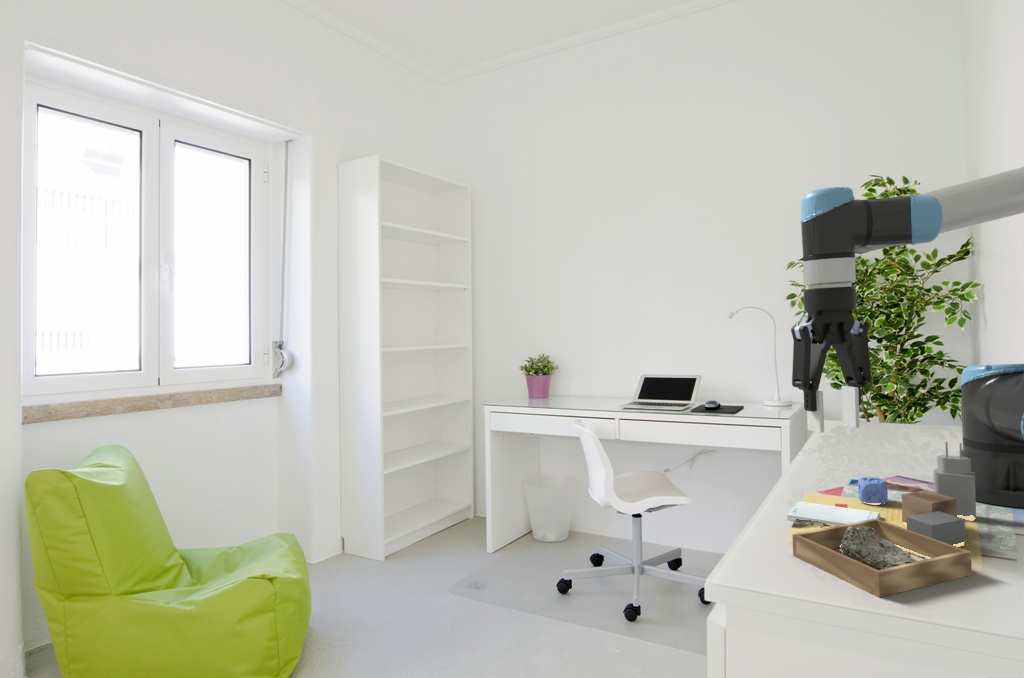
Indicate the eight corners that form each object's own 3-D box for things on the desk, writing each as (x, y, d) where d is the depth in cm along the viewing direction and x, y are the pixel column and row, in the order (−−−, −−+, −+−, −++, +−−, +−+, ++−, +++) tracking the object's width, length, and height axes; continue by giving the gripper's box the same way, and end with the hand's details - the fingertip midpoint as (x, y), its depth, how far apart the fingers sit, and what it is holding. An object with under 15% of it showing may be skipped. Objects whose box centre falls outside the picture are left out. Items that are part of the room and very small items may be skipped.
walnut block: (926, 521, 99) (925, 490, 99) (957, 531, 95) (956, 498, 94) (902, 526, 98) (901, 494, 98) (932, 536, 93) (931, 503, 93)
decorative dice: (858, 498, 112) (857, 476, 112) (883, 499, 111) (883, 477, 110) (861, 505, 108) (860, 482, 108) (888, 506, 107) (887, 483, 107)
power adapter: (935, 511, 103) (933, 439, 103) (976, 516, 100) (974, 442, 100) (934, 516, 101) (932, 443, 100) (976, 521, 98) (974, 446, 97)
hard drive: (786, 513, 103) (873, 525, 95) (798, 500, 109) (880, 510, 102) (787, 523, 103) (873, 536, 95) (798, 509, 109) (880, 520, 102)
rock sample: (919, 564, 75) (872, 502, 81) (864, 595, 78) (823, 533, 84) (948, 576, 81) (902, 518, 87) (895, 605, 84) (855, 546, 90)
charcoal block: (939, 537, 93) (938, 510, 92) (965, 546, 89) (964, 519, 89) (907, 543, 91) (906, 516, 91) (932, 553, 87) (931, 525, 87)
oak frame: (876, 538, 93) (875, 518, 93) (971, 575, 80) (971, 551, 80) (793, 555, 89) (792, 534, 89) (879, 597, 75) (878, 572, 75)
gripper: (857, 285, 107) (861, 419, 108) (763, 290, 101) (768, 431, 102) (896, 283, 100) (899, 425, 101) (797, 287, 94) (802, 439, 95)
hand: (833, 428), depth 101 cm, fingers open, 6 cm apart
